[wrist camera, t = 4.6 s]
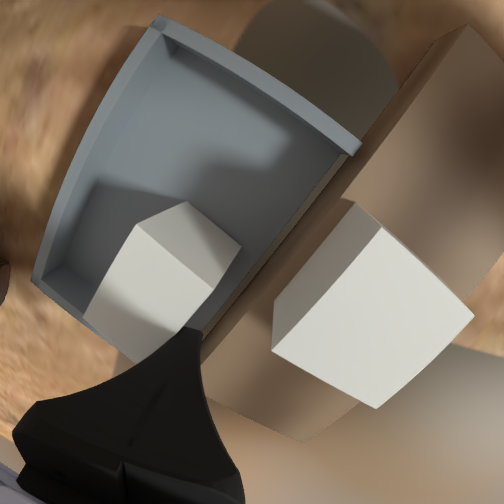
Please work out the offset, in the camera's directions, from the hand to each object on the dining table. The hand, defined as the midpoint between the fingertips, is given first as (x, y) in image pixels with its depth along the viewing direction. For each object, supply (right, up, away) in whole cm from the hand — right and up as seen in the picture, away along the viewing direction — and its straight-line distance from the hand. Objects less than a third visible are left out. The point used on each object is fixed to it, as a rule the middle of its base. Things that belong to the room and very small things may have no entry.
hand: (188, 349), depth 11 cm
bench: (+8, +4, +2) cm, 9 cm away
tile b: (+6, +2, 0) cm, 7 cm away
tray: (-1, +6, +2) cm, 6 cm away
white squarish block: (0, +2, +1) cm, 2 cm away
